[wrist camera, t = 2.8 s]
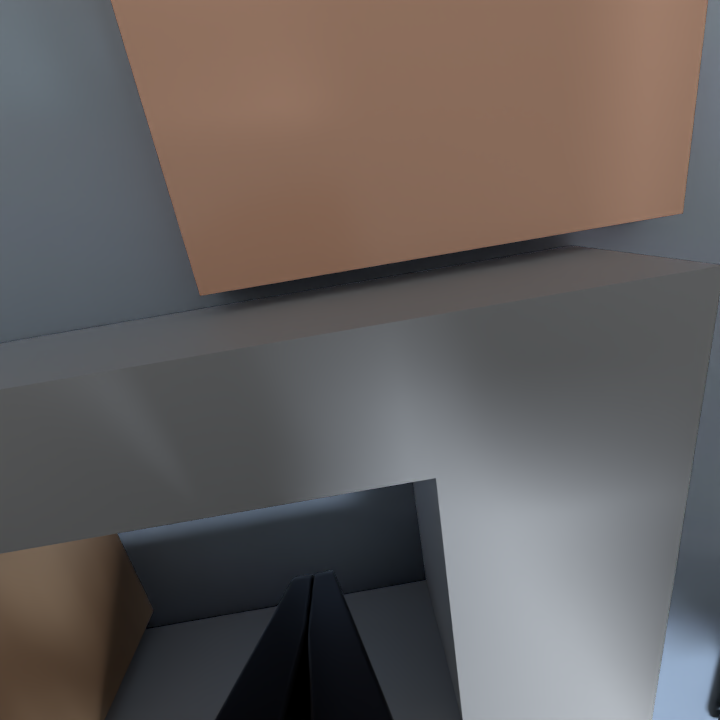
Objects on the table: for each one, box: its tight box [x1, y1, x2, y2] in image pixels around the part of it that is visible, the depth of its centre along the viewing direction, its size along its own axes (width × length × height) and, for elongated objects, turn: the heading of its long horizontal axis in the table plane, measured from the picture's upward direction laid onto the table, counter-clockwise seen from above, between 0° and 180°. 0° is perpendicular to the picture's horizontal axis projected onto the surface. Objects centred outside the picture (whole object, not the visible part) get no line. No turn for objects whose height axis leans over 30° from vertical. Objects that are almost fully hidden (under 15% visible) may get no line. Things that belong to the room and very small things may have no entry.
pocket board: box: [0, 245, 720, 720], centre depth 9 cm, size 11×18×4 cm, turn 99°
